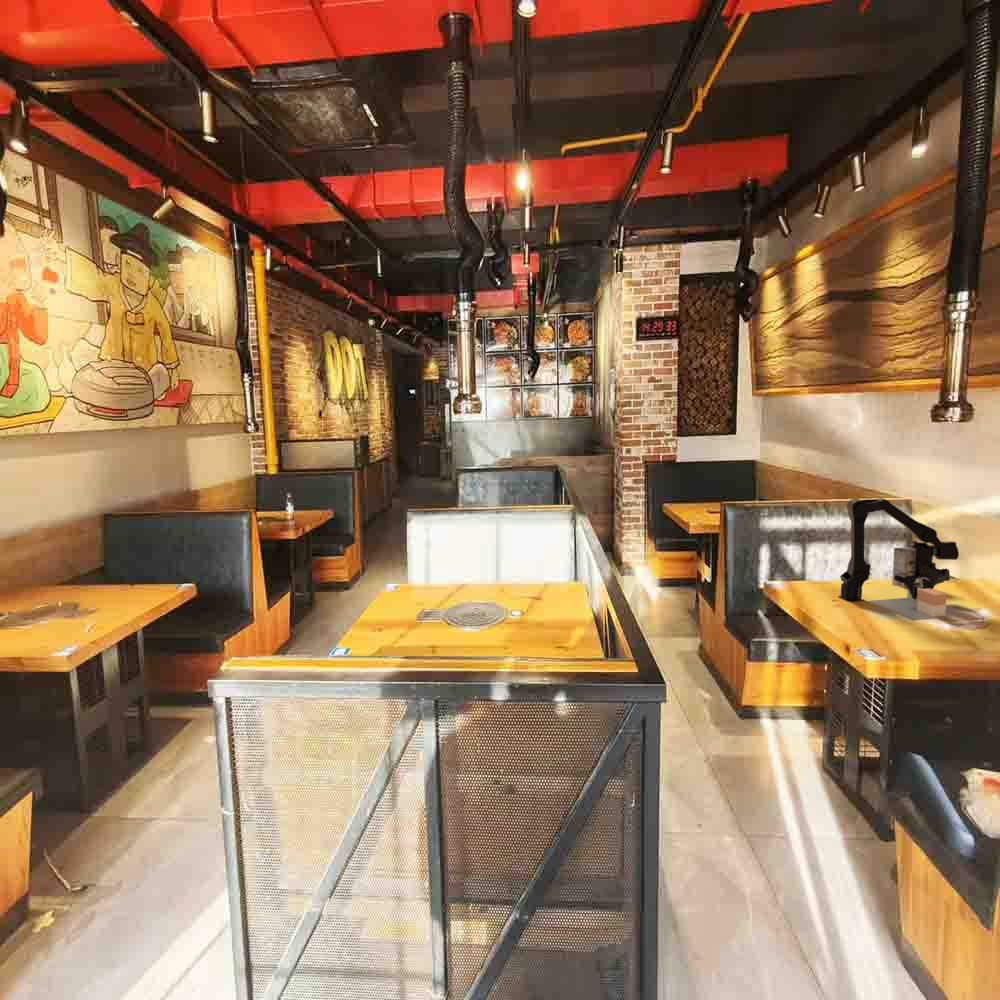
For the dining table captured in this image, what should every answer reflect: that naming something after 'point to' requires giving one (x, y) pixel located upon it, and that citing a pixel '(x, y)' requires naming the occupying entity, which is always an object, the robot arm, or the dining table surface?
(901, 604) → the baseplate
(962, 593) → the dining table surface
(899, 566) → the coffee box
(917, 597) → the sage brick
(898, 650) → the dining table surface
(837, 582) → the dining table surface
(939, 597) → the terracotta brick
